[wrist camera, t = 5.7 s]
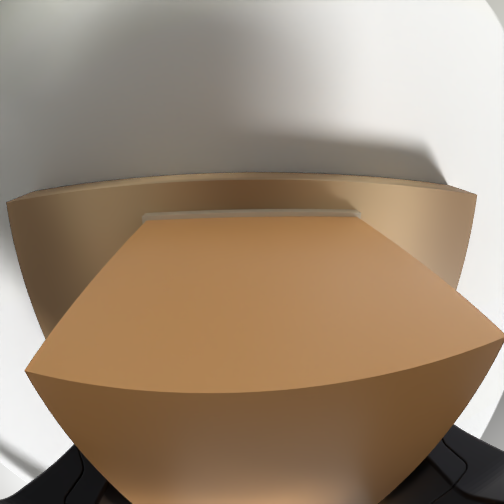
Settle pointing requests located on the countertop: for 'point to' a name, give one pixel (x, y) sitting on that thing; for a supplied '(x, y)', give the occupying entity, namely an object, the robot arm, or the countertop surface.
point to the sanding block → (262, 360)
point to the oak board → (219, 198)
